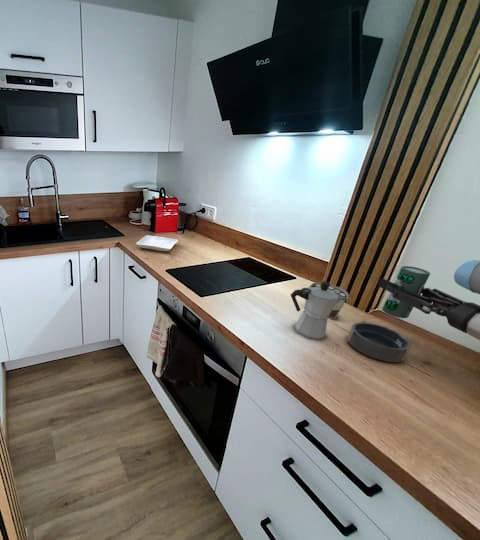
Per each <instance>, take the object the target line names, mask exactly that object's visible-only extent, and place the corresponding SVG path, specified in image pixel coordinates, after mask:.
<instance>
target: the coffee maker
mask: <svg viewBox="0 0 480 540" xmlns="http://www.w3.org/2000/svg"><path fill="white" fill-rule="evenodd" d="M321 283H322V285H321V288H319V287H310V286H309V287H302V288H301V289H294V291H292V293H291V294H290V297H291V300H292V302H293V304H294V307H295V309H296V312H300V311H301V307H300V305H299V303H298V300H297V296H298V297H300V298H301V299H304V300H305V302H304V310H303V311H302V313H301V314H300V315H299V317H298V319H297V321H296V322H295V325H294V329H295V331H296V332H297V333H298V334H299V335H302V336H303V337H305V338H307V339H312V340H319V341H320V340H322V339H323V338H326V334H327V333H326V332H327V327H328V319H329V317H327V316H329V315H330V313H331V311H332V310H333V308H334V306H335V305H336V304H337V303H338V302H339V301H341V300H342V299H344V298H345V297H342V296H340V295H338V294H336V293H334V292H332V291H331V290H327V289H328V288H329V286H330V285H331V283H330V282H328V281H321Z"/></svg>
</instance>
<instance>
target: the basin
mask: <svg viewBox="0 0 480 540" xmlns="http://www.w3.org/2000/svg"><path fill="white" fill-rule="evenodd" d="M346 340H347V342H348V344H349V345H351V347H353V348H354V349H356V350H357V351H358V352H360V353H361V354H363V355H365V356H367V357H369V358H372V359H375V360H378V361H382V362H387V363H401V362H402V361H404V360H405V359H406V357H407V355H408V353H409V351H410V349H411V343H410V341H409V340H408V338H406V337H405V336H404V335H402V334H401V333H398V332H397V331H395V330H393V329H390V328H388V327H385V326H382V325H379V324H375V323H371V322H355V323H353V324H352V326H351V328H350V331H349V333H348V334H347V339H346Z"/></svg>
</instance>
